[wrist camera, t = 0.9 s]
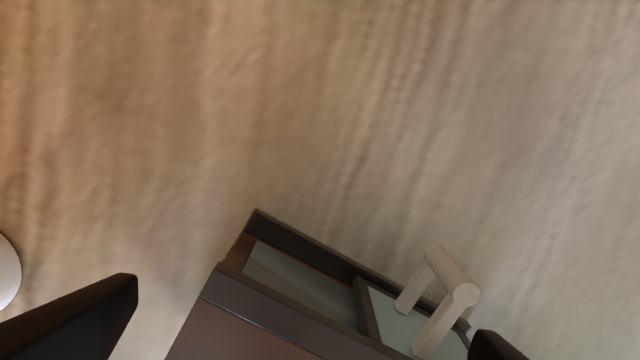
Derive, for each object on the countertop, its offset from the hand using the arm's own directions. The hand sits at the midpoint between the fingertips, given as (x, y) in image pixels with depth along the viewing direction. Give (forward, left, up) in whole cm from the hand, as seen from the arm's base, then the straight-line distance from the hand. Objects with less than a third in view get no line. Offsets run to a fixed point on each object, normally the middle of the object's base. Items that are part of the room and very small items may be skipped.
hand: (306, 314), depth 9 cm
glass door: (-2, -10, -13) cm, 17 cm away
